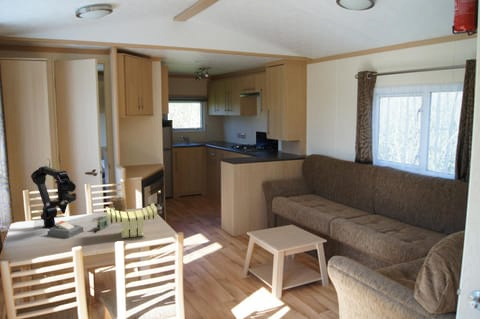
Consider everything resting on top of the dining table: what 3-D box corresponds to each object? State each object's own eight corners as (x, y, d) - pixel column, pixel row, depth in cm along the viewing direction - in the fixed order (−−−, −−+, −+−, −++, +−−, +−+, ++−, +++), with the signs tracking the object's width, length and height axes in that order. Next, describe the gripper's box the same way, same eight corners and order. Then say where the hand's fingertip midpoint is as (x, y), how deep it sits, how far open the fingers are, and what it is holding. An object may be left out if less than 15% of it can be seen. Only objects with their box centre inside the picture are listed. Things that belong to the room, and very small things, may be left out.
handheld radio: (115, 222, 287) (97, 233, 262) (111, 222, 287) (92, 233, 263) (114, 213, 286) (96, 223, 261) (110, 213, 286) (91, 223, 262)
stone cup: (111, 216, 302) (110, 196, 300) (127, 214, 308) (127, 194, 306) (115, 221, 289) (114, 200, 287) (132, 219, 294) (131, 199, 292)
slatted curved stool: (108, 241, 247) (107, 213, 245) (107, 233, 262) (106, 206, 259) (157, 235, 257) (156, 208, 255) (154, 228, 272) (153, 202, 270)
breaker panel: (47, 235, 257) (47, 229, 256) (63, 229, 270) (62, 222, 270) (68, 238, 253) (68, 231, 252) (83, 231, 266) (82, 224, 265)
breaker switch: (55, 224, 259) (56, 222, 259) (62, 222, 265) (62, 220, 264) (68, 231, 257) (68, 229, 257) (74, 228, 263) (75, 226, 262)
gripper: (62, 193, 253) (64, 218, 255) (81, 187, 270) (83, 210, 273) (47, 192, 256) (49, 216, 258) (68, 187, 273) (69, 209, 276)
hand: (63, 213), depth 266 cm, fingers closed
